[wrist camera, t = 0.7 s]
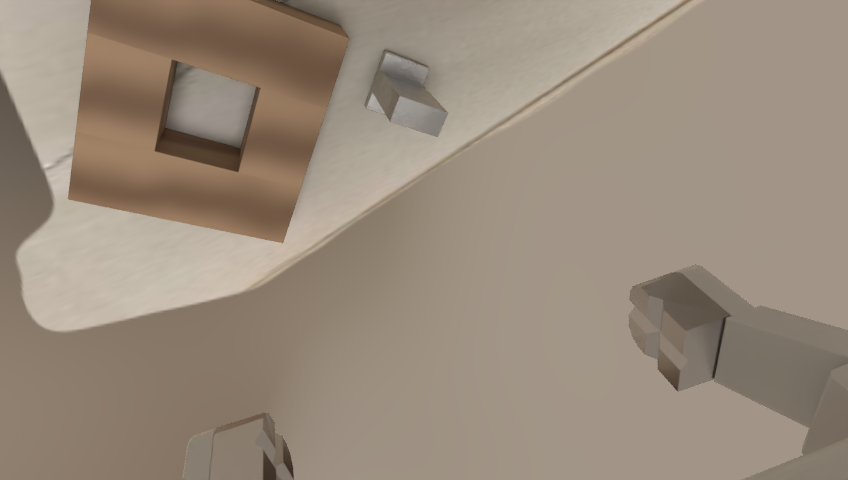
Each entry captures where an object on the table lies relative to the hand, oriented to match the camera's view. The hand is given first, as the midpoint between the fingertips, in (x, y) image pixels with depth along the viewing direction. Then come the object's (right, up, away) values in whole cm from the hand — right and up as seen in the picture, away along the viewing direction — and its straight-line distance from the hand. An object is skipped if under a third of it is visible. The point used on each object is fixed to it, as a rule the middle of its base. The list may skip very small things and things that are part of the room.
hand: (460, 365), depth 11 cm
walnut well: (-18, +14, +31) cm, 39 cm away
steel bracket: (-3, +16, +34) cm, 38 cm away
